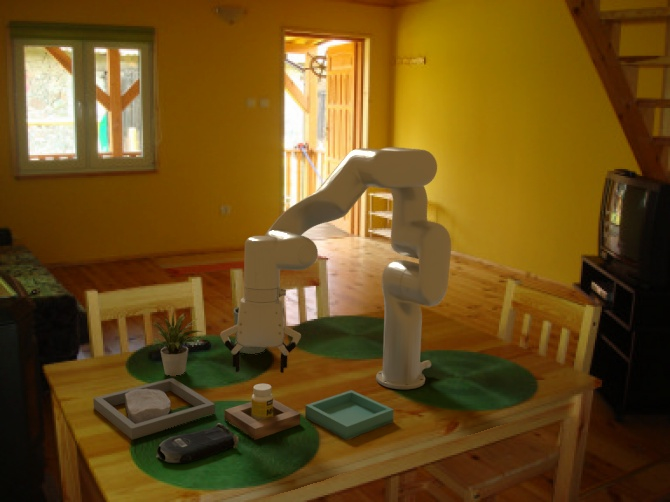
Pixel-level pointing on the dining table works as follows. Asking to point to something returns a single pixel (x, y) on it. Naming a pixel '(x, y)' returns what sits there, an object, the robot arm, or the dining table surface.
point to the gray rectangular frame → (161, 423)
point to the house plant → (174, 346)
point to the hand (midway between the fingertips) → (260, 370)
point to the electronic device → (197, 444)
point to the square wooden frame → (259, 429)
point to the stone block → (146, 404)
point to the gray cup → (246, 348)
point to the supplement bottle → (262, 402)
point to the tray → (349, 414)
